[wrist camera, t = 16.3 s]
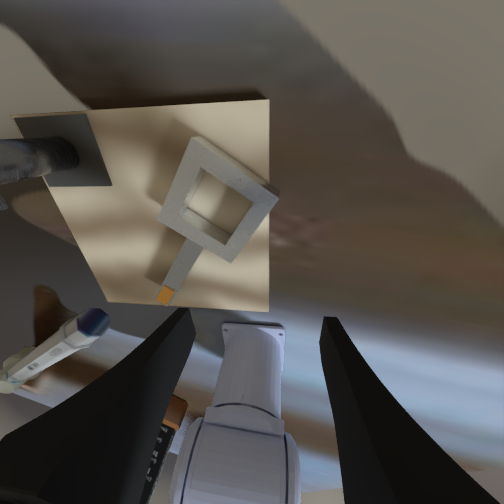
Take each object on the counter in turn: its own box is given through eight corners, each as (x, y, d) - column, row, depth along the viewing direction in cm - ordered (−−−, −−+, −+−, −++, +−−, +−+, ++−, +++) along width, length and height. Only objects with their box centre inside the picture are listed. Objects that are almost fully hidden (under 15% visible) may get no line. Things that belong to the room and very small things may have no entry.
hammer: (91, 184, 18) (-5, 215, 12) (66, 185, 19) (-39, 215, 12) (62, 115, 16) (-78, 110, 10) (34, 117, 16) (-120, 113, 10)
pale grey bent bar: (101, 346, 27) (1, 408, 34) (129, 310, 33) (40, 369, 40) (64, 321, 25) (-34, 392, 32) (101, 287, 31) (12, 353, 38)
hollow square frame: (279, 190, 17) (279, 198, 15) (196, 305, 24) (189, 319, 23) (201, 136, 15) (190, 137, 14) (140, 275, 23) (128, 288, 21)
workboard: (268, 305, 25) (268, 314, 24) (113, 296, 27) (106, 303, 26) (269, 101, 15) (268, 98, 14) (23, 115, 17) (5, 115, 16)
